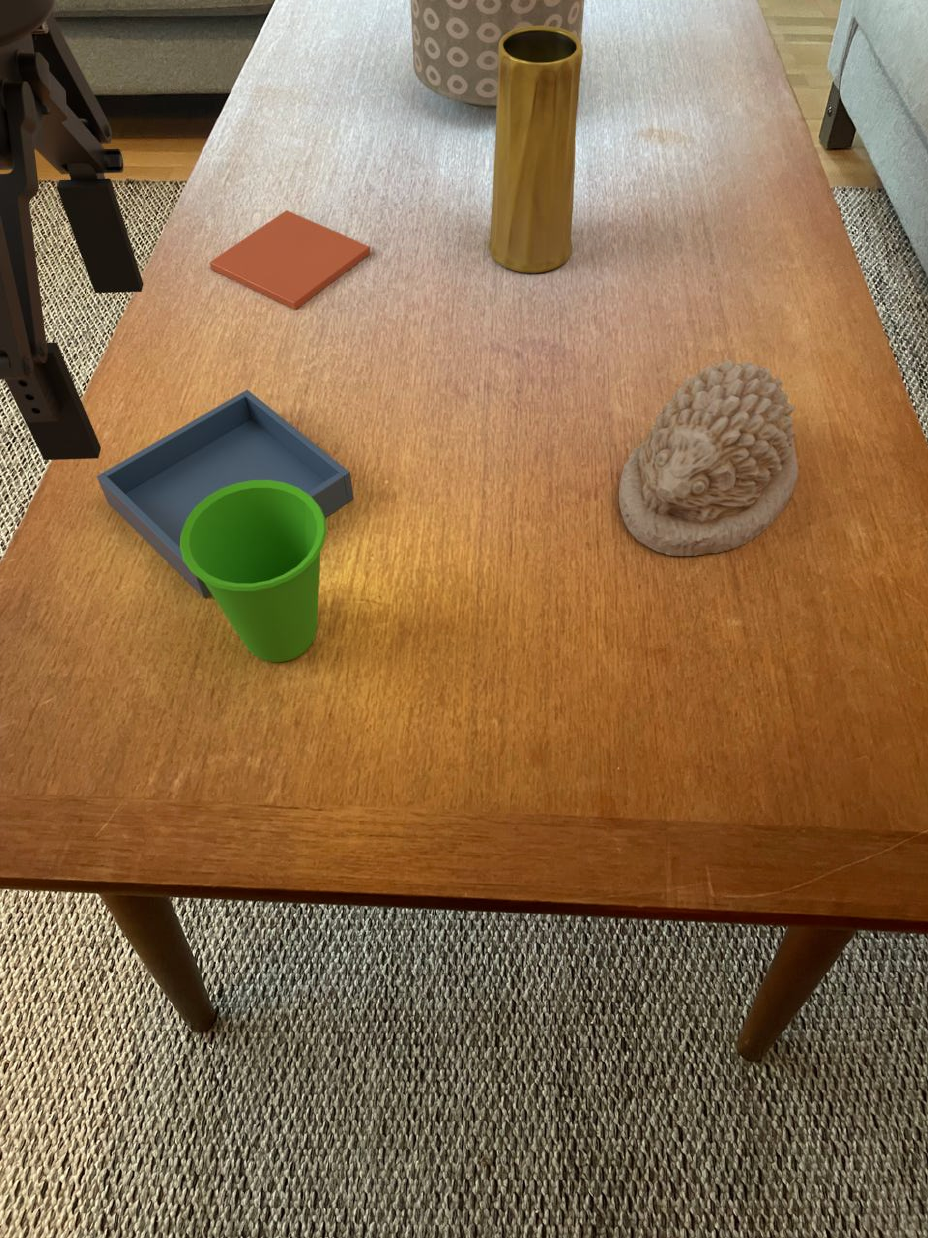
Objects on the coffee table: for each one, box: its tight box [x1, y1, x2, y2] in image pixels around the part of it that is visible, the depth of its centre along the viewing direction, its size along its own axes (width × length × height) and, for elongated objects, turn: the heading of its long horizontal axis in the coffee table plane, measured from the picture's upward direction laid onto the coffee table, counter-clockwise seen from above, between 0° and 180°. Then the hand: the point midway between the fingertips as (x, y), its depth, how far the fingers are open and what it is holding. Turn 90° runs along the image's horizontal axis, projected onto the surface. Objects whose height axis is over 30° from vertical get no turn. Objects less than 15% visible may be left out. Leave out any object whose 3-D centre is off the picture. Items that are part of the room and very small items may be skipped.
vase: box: [488, 26, 584, 274], centre depth 89 cm, size 8×8×19 cm
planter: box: [409, 0, 585, 110], centre depth 109 cm, size 19×19×18 cm
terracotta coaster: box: [209, 209, 371, 310], centre depth 96 cm, size 11×11×1 cm
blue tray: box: [96, 389, 355, 599], centre depth 76 cm, size 14×13×3 cm
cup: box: [180, 480, 327, 663], centre depth 66 cm, size 9×9×11 cm
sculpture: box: [618, 359, 800, 557], centre depth 74 cm, size 12×17×10 cm
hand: (98, 365), depth 53 cm, fingers open, 13 cm apart
